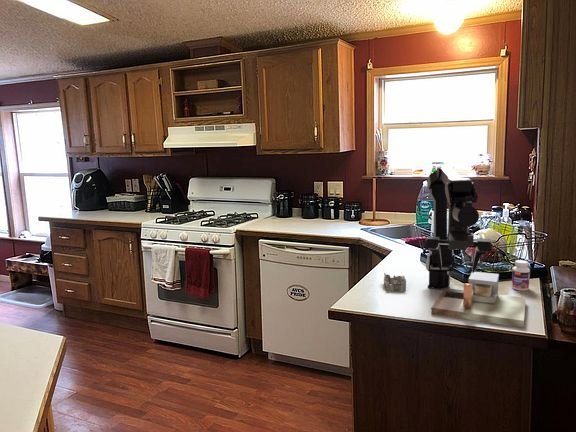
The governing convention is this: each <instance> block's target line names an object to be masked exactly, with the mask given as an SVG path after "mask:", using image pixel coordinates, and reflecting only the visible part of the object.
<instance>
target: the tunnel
mask: <svg viewBox="0 0 576 432" xmlns="http://www.w3.org/2000/svg"><path fill="white" fill-rule="evenodd" d="M499 277H500V274H499V273H491V272H490V273H489V272H484V271H483V272H481V271H474V273H472V272H470V276H469V277H468V283H470V284H472V289H475V285H476V283H477V284H486V285H492V290H491V296H492V294H493V291H497V296H496V297H498V294H499V282H500V281H499Z"/></svg>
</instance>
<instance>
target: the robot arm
mask: <svg viewBox="0 0 576 432" xmlns="http://www.w3.org/2000/svg"><path fill="white" fill-rule="evenodd" d="M426 187H427V190H428V195H429V196H430V198H431V200H432V201H433V236H431V235H429V236H427V237H426V238H425V240H424V248H425V249H428V254H427V257H426V261H425V269H426V271H428V284H427V288H429V289H436V290H443V288H449V287H450V286H451V273H450V272H453V271H454V265H455V260H456V258H455V257H454V254H453V251H454V250H460V251H466V250H467V248H475V251H474V254H473V255H474V256H473V261H472V262H473V263H472V267H471V268H472V271H471V273H474V272H476V271H475V270H476V268H477V266H478V264H479V261H480V259H481V257H482V256H483V255H487V253H488V252H489V253H490V252H493V248H492V247H493V242H492V240H491V239H490V238H476V241H475V240H474V237H475V235H474V234H475V233H474V232H471V233H470V232H469V227H472V226H475V225H476V224H477V222H478V221H479V218H480V214H479V211H478V209H476V208H475V207H473V204H478V198H479V197H478V193H477V189H476V186H475V184H474V182H473V181H472V179H470V178H469V177H462V176H460V175H459V174H458V173H457V172H456V170H455V168H454V166H451V165H442V166H441V165H440V166H437V168H436V169H435V170H434V171H433V172H431V173H430V174H429V175H428V178H427V182H426Z"/></svg>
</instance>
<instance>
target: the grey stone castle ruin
mask: <svg viewBox="0 0 576 432" xmlns="http://www.w3.org/2000/svg"><path fill="white" fill-rule="evenodd" d="M383 274H384V275H383V276H384V277H383V284H384V287H386V290H387V291H390V292H394V291H400V292H403V291H406V290H407V278H406V277H405V275H397V276H396V275H393V276H392V277H391V275H390V274H386V272H384V273H383Z"/></svg>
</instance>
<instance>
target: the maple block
mask: <svg viewBox="0 0 576 432" xmlns="http://www.w3.org/2000/svg"><path fill="white" fill-rule="evenodd" d="M491 290H492V285H486V284H477V283H476V285H475V295H477V296H485V297H491Z"/></svg>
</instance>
